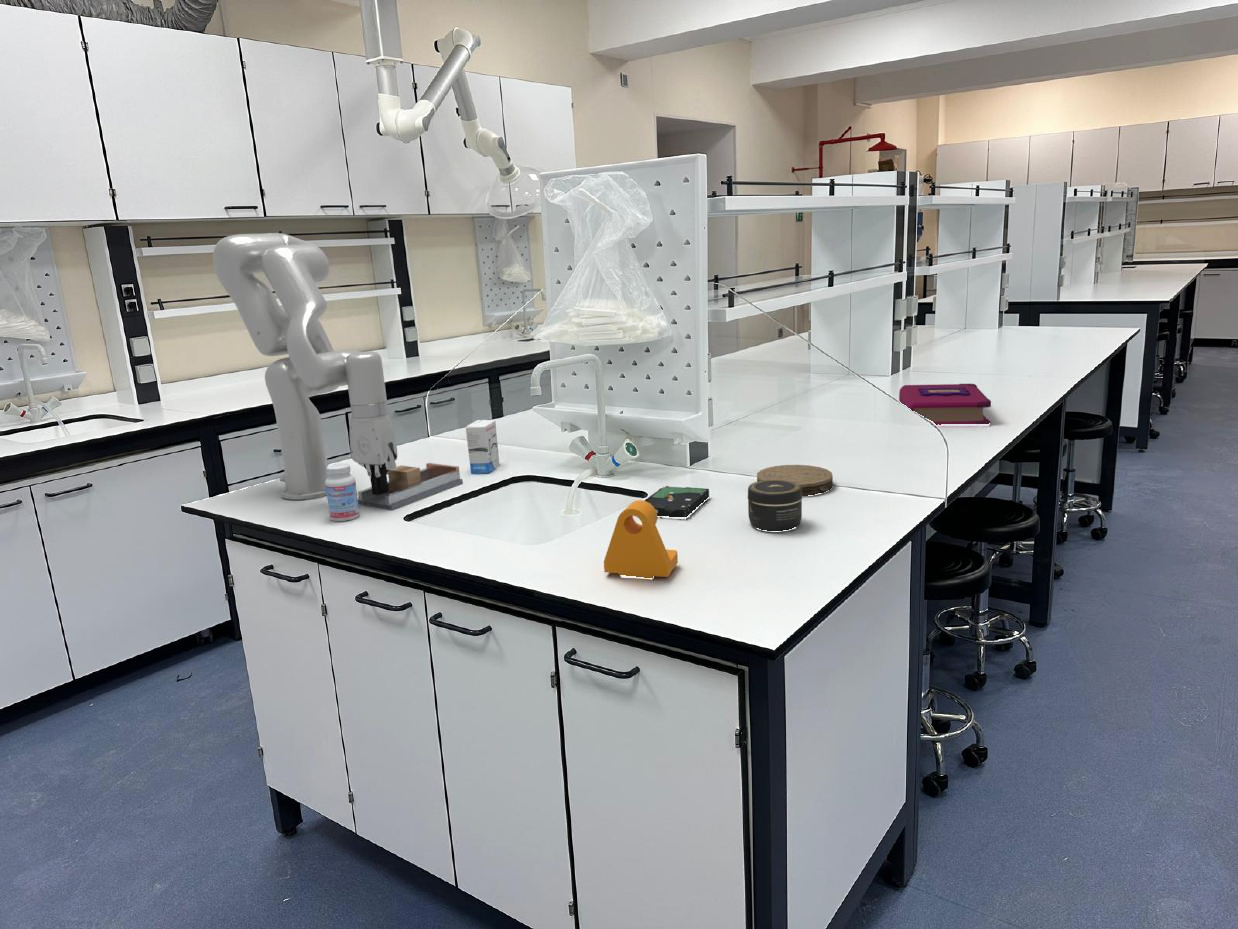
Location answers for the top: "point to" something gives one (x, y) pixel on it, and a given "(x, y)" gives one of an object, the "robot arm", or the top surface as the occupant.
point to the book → (946, 403)
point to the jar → (775, 504)
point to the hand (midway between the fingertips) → (380, 492)
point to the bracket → (639, 545)
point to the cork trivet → (800, 477)
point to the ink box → (482, 446)
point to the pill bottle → (341, 493)
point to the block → (403, 477)
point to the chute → (414, 488)
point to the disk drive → (677, 500)
